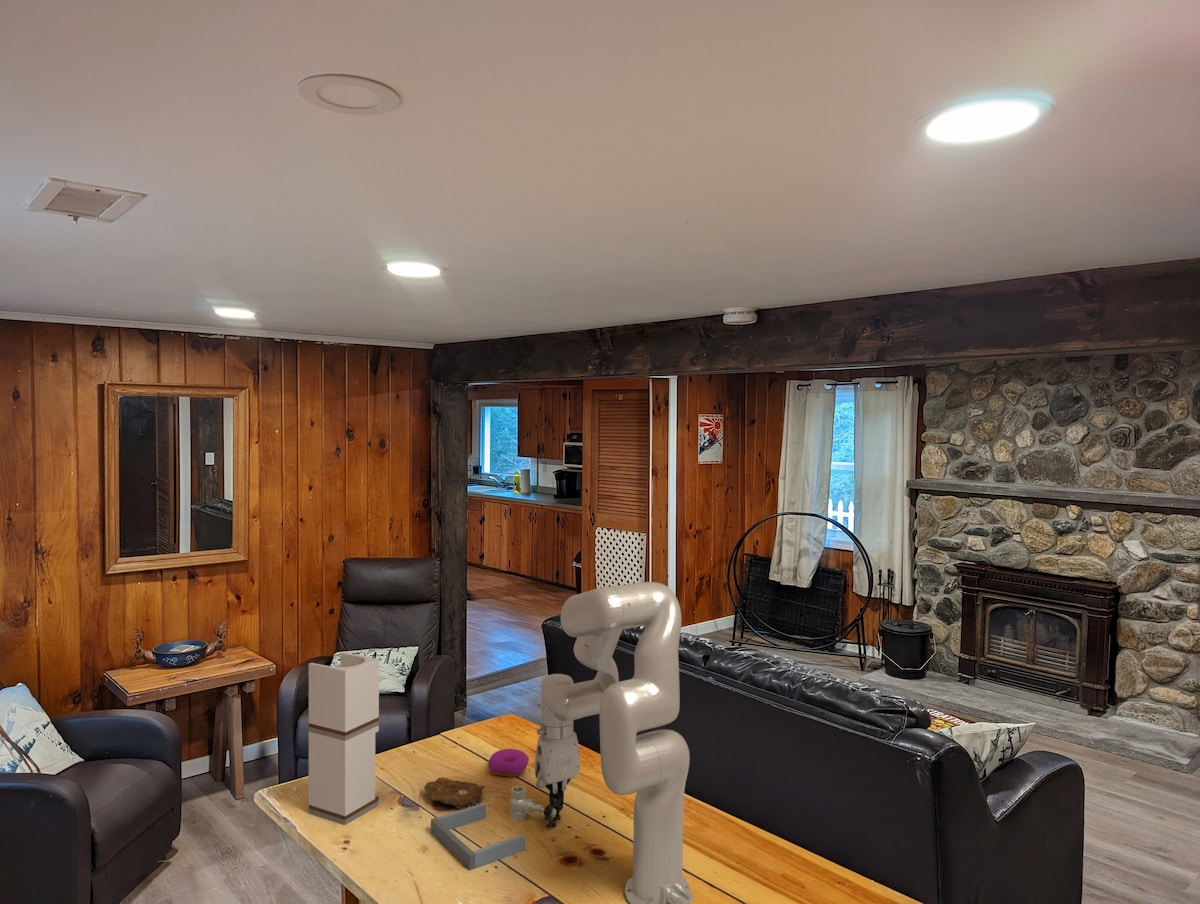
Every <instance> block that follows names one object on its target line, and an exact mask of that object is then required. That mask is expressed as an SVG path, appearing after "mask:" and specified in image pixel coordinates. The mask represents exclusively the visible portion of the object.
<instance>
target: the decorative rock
mask: <svg viewBox="0 0 1200 904" xmlns="http://www.w3.org/2000/svg"><path fill="white" fill-rule="evenodd" d="M484 788H485V786H484V785H479V784H477V783H474V782H468V781H460V780H452V779H450V778H447V777H443V776H441V777H438V778H437V779H435V781H429V782H427V783H426V784H425V785H424V790H425V791H426V794H427V796H428V798H429V801H433V802H434V801H435V802H440V803H441V804H445V805H446V804H447V805H452V806H454V807H455V808H456V809H458V811H459V810H462V809H465V808H469V807H472V806H475V805H478V804H480V799H481V798H482V797H483V794H484V791H483V789H484Z"/></svg>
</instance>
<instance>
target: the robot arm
mask: <svg viewBox="0 0 1200 904" xmlns="http://www.w3.org/2000/svg"><path fill="white" fill-rule="evenodd" d="M681 611H682V610H681V607H680V603H679V600H678V598H677V596H676V595H675V592H673V590H672V589H671V588H670V587H668V586H667V585H665V584H664V583H660V582H656V581H642V582H641V581H640V582H635V583H627V584H620V585H613V586H612V585H611V586H605V587H598V588H595V589H591V590H588V591H583V592H582V593H578V594H574V595H571V596H570V597H569V598H567V599H566V601H564V604H563V606H562V608H561V611H560V623H561V627H562V630H563V631H564V632H565V634H567V636H569V637H572V638H576V640H575V642H574V646H573V654H574V657H575V658H576V659H577V661H578V662H580V663H581V664H582V665H583V666H585V667H587V668H589V669H591V670H595V671H597V673H596V675H595V677H594V679H591V680H586V681H581V682H576V683H575V682H574V680H573V678H572V677H571V676H570V675H568V674H563V673H552V674H549V675H546V676H545V677H543V679H542V680H541V688H540V690H541V691H540V693H541V695H540V696H541V697H540V698H541V699H540V700H541V701H540V704H541V705H540V728H538V729H536V734H537V736H538V740H537V744H536V748H535V749H536V751H535V760H534V775H535V778H536V781H535V782H536V783H535V786H536V787H537V788H539V789H546V790H548V791H549V793H548V795H549V797H548V798H549V801H548V802H549V805H550V804H552V802H551V798H560V799H561V802H560V804H559V805H562V806H563V808H562V810H563V809H564V801H565V800H564V799H565V794H564V793H565V791H566V790H567V786H568V785H569V783H570V781H572V780H573V779H575V778H576V777H577V776H578V775H579V774H580V771H581V757H580V746H579V740H578V736H577V733H576V732H575V731H574V721H575V720H579V719H582V718H586V717H591V716H595V715H599V741H600V743H599V745H600V749H599V750H600V767H601V773H602V777H603V781H604V784H605V786H607V788H608V790H610V792H612V793H613V794H615V795H618V796H627V795H631V794H635V799H634V802H633V805H634V806H633V835H632V836H633V839H632V840H633V841H632V842H633V844H632V845H633V846H632V847H633V851H632V855H633V857H632V877H630V878H629V879H628V880H627V881H626V883H625V886H624V896H625V899H626V900H627V901H628V903H630V904H690V902H692V901H694V899H695V895H694V894H693V893H692V892H691V888H690V886H689V884H688V883H687V879H686V877H684V876H683V868H684V867H683V862H684V861H683V858H684V857H683V852H684V851H683V849H684V848H683V847H684V811H685V810H684V807H685V806H684V804H685V788H686V783H687V778H688V774H689V768H690V749H689V746H688V744H687V742H686V740H685V738H684V737H683V736H682V735H681V734H680V733H679V732H676V731H675V730H672V729H657V730H652V731H649V732H645V733H640V734H638V733H639V732H643V731H646V730H651V729H656V728H659V727H662V726H665V725H667V724H670V723H672V722H674V721H675V720H676V719H677V718H678V715H679V712H680V706H681V705H680V704H681V703H680V699H681V697H680V696H681V695H680V666H679V665H680V663H679V647H680V638H681V633H682V632H681V630H682V612H681ZM638 627H644V631H643V632H642V633H641V635H640V637H639V639H638V641H637V644H636V647H635V649H634V655H633V657H634V674H633V676H632V678H630V679H627V680H626V679H625V680H622V681H619V680H620V679H619V672H618V667H617V664H616V662H615V660H614V658H613V655H614V653H615V650H616V647H617V645H618V643H619V640H620V637H621V634H622V632H623V630H627V629H635V628H638ZM637 734H638V735H637ZM553 809H556V806H554V808H553Z"/></svg>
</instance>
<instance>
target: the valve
mask: <svg viewBox="0 0 1200 904" xmlns="http://www.w3.org/2000/svg"><path fill="white" fill-rule="evenodd" d="M510 790H511V791H510V798H509V802H508V803H509V804H508V805H509V808H510V819H511V820H513V821H516V822H517V821H524V820H526V816H527V815H526V814H531V815H532V813H538V814H542V813H543V815H544V818H543V819H544V821H547V822H548V823H546V824H545V827H546V828H547V829H548V828H549V829H552V828H557V821H561V819H562V815H561V814H560V813H561V811H562V810H563V809H564V805H563V806H562V805H559V804H560V802H561V799H560V798H551V802H552V804H550V803H549V804H547V805H545V807H544V805H542V804H538V803H536V801H535V800H534V799H531V798H527V797H526V796H527V788H526V787H525V786H522V785H515V786H513V787H511V789H510ZM554 806H556V809H554ZM562 808H563V809H562ZM552 817H553V818H552Z"/></svg>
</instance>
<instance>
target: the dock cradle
mask: <svg viewBox="0 0 1200 904" xmlns="http://www.w3.org/2000/svg"><path fill="white" fill-rule="evenodd" d="M486 818H487V804H486V803H485V802H482V803H479V804H478V803H477V805H475V806H472V807H469V808H465V809H461V810H459V809H458V810H456V811H452V812H450V813H447V814H444V815H440V816H437V817H434V818H430V834H431V835H432V836H433V837H435V838H436V839H437V840H438V841H439V842H440V843H441V844H442V845H443V846H444V847H445V848H446V849H447V850H448V851H449V852H450V853H451V854H452V855H453V856H454V857H455V858H456V859H457V860H458V861H459V862H461V863H462V864H463V865H464V866H465V868H466V869H468V871H472V870H474V869H477V868H480V867H483V866H486V865H488V864H491V863H494V862H496V861H499V860H501V859H504V858H507V857H510V856H513V855H515V854H519V853H521V852H524V851H526V839H527V837H526V835H525V834H524V833H521V834H518V835H515V836H512V837H510V838H506V839H504V840H500V841H498V842H495V843H492V844H490V845H487V846H484V847H481V848H478V849H475V850H471V848H469V846H467V845H466V843H464V842H463V841H462V840H461V839H460V838H459V837H458V836H456V834H454V833H453V832H452V829H456V828H459V827H462V826H464V825H469V824H472V823H474V822H477V821H480V820H483V819H486Z"/></svg>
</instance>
